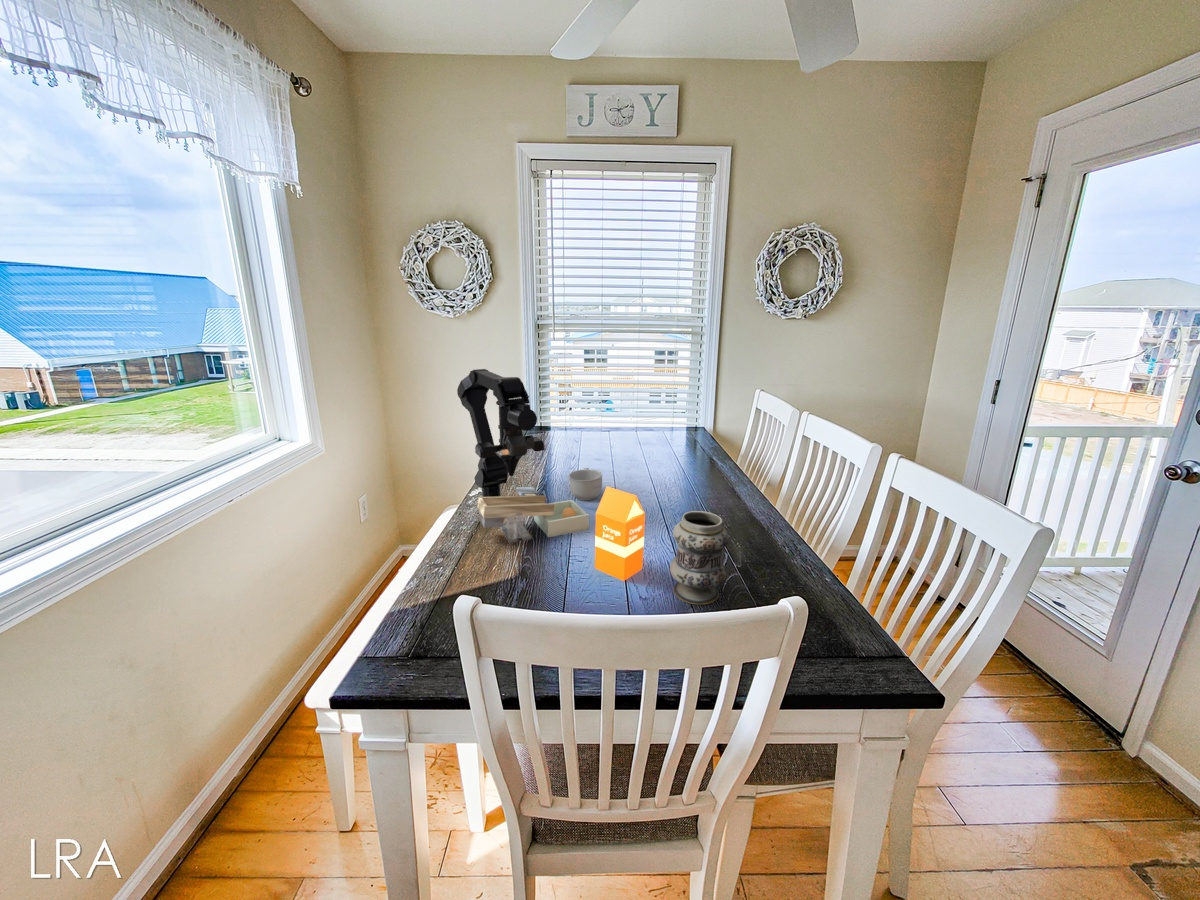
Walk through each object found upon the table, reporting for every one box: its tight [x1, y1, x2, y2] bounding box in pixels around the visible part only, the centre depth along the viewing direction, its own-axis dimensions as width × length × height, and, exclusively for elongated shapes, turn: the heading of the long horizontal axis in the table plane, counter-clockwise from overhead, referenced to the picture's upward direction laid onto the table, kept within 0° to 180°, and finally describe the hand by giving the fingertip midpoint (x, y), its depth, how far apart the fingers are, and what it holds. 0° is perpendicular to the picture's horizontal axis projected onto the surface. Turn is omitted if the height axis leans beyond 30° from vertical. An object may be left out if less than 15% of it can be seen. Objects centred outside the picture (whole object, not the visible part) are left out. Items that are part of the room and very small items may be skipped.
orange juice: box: [594, 486, 646, 582], centre depth 116 cm, size 8×9×20 cm
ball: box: [562, 507, 576, 518], centre depth 142 cm, size 4×4×4 cm
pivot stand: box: [498, 513, 532, 544], centre depth 135 cm, size 10×6×8 cm, turn 26°
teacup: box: [568, 467, 603, 501], centre depth 163 cm, size 14×11×8 cm
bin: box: [533, 499, 590, 538], centre depth 141 cm, size 12×12×4 cm
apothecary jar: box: [669, 510, 730, 606], centre depth 108 cm, size 12×12×18 cm
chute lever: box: [477, 486, 554, 529], centre depth 139 cm, size 17×19×6 cm
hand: (511, 475), depth 142 cm, fingers closed
